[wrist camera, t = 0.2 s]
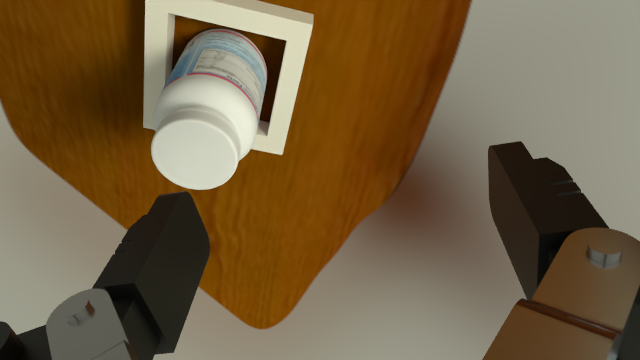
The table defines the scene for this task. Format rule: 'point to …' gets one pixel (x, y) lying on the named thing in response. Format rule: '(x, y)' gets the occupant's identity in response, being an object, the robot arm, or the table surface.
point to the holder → (240, 13)
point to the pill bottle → (209, 110)
